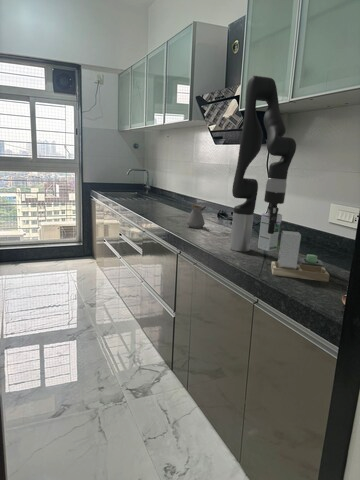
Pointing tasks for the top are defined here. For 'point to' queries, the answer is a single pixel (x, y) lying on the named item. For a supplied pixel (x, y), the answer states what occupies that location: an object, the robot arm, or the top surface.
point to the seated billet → (289, 250)
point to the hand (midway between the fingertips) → (269, 231)
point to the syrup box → (266, 239)
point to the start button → (311, 258)
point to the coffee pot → (196, 217)
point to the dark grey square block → (303, 262)
